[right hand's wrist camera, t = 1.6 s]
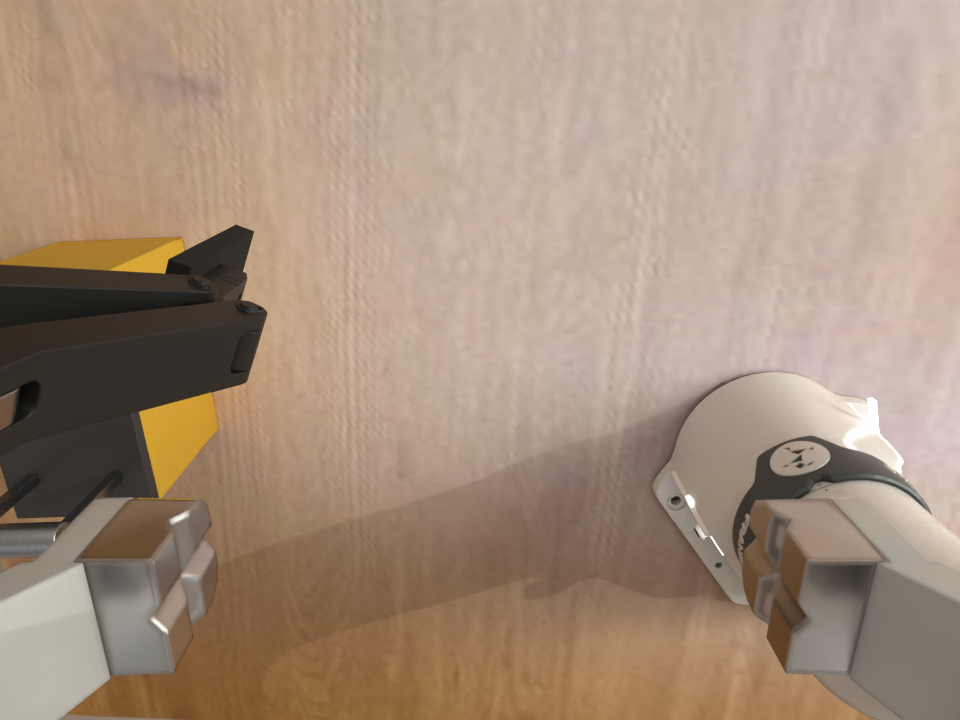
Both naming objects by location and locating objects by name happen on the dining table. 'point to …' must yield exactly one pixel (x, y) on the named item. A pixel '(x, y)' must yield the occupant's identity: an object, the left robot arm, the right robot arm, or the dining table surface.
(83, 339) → the left robot arm
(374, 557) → the dining table surface
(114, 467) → the lid
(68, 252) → the chest
